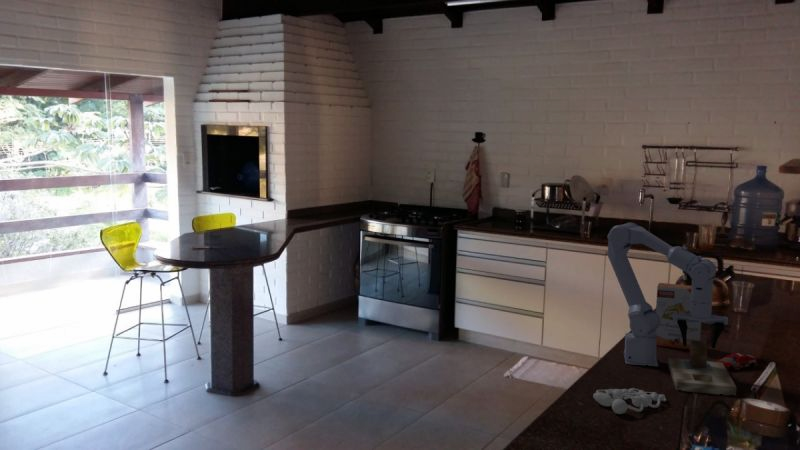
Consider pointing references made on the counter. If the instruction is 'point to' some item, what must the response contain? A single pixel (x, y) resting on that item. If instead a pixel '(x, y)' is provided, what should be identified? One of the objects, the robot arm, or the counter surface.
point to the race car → (738, 361)
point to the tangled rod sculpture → (620, 405)
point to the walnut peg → (698, 354)
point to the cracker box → (667, 303)
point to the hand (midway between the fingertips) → (698, 346)
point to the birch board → (701, 377)
